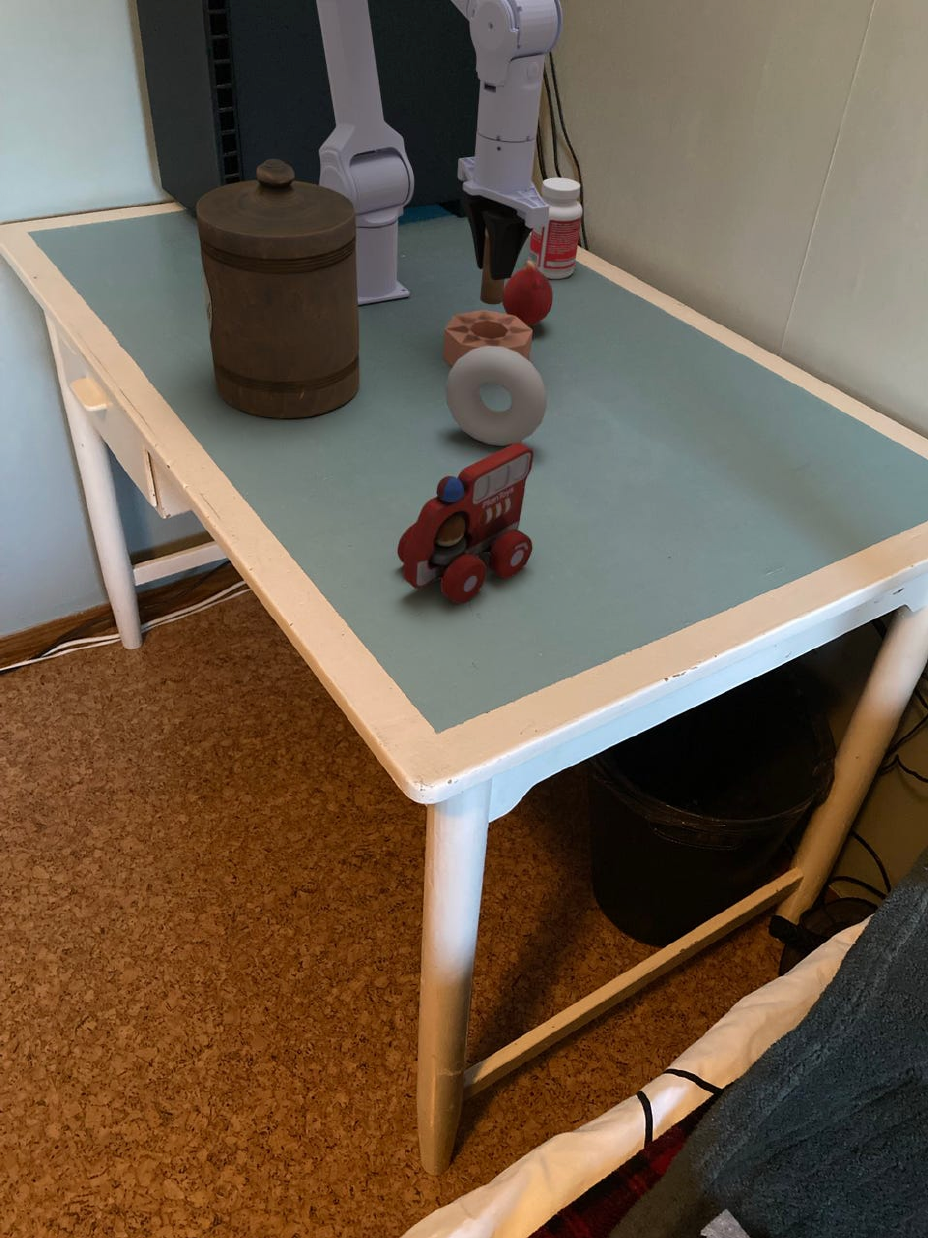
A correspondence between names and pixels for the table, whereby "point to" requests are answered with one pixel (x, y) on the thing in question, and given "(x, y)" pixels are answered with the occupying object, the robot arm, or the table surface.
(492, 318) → the orange octagonal ring
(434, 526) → the toy fire truck
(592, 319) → the table surface
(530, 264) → the onion
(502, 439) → the donut
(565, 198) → the pill bottle
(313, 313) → the wooden container
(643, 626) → the table surface
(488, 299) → the case
